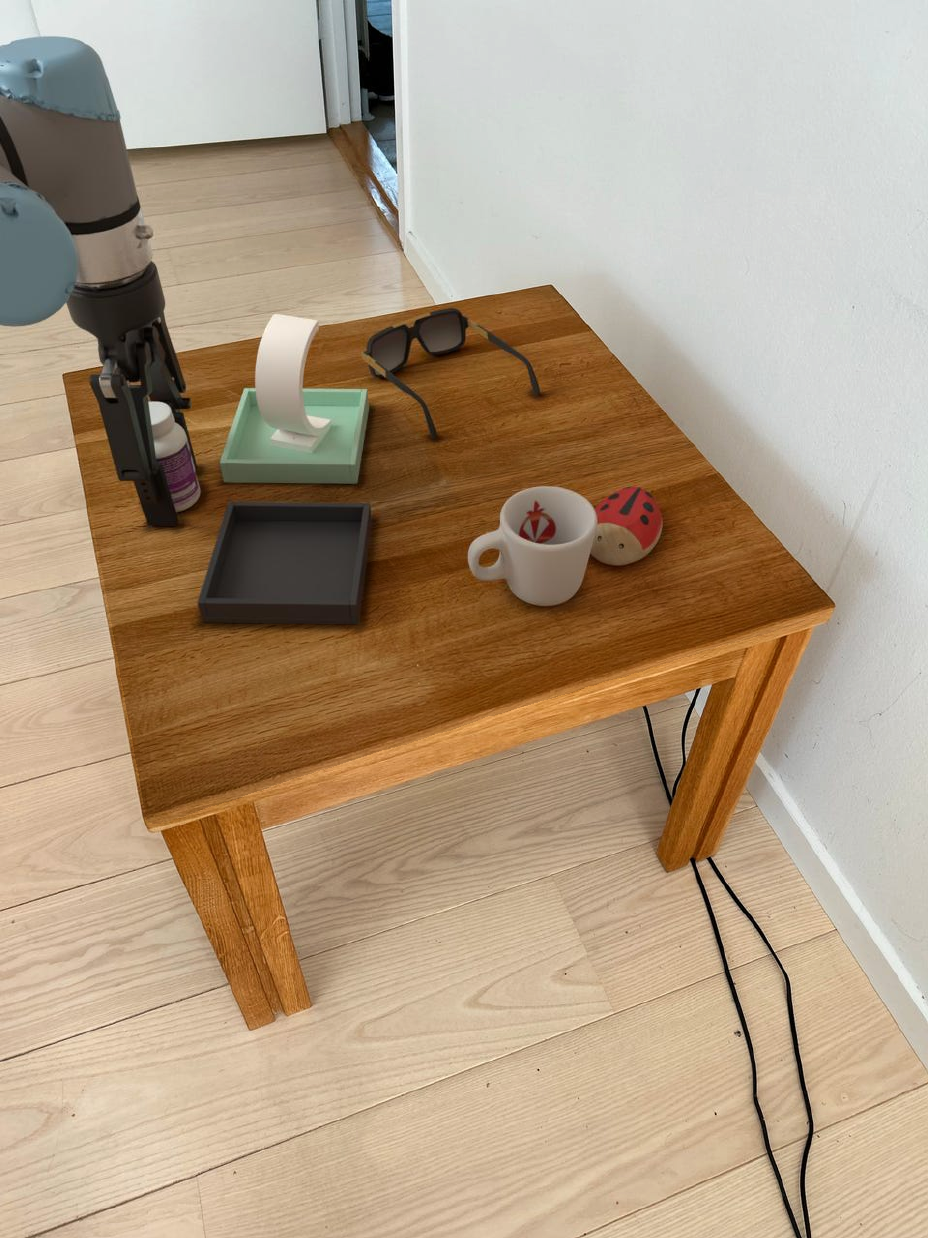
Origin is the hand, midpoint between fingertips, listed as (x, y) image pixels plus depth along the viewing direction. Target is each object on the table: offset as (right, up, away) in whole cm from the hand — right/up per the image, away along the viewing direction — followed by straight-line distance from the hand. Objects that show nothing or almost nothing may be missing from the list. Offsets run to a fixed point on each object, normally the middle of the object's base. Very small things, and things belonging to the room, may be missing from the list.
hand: (173, 495), depth 90 cm
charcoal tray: (+13, -8, -7) cm, 16 cm away
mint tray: (+11, +6, +6) cm, 14 cm away
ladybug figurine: (+43, -4, -4) cm, 43 cm away
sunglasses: (+26, +14, +14) cm, 33 cm away
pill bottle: (0, 0, 0) cm, 0 cm away
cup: (+34, -9, -8) cm, 36 cm away
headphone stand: (+11, +6, +6) cm, 14 cm away
